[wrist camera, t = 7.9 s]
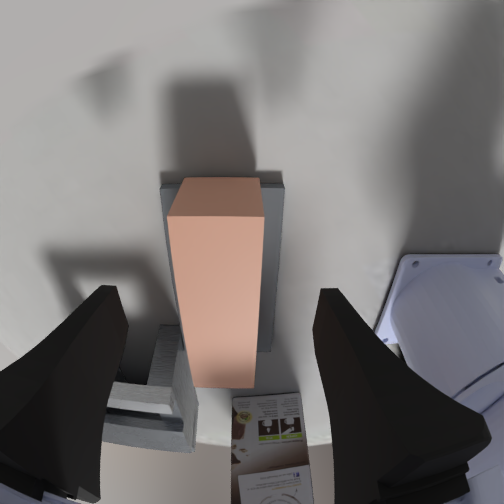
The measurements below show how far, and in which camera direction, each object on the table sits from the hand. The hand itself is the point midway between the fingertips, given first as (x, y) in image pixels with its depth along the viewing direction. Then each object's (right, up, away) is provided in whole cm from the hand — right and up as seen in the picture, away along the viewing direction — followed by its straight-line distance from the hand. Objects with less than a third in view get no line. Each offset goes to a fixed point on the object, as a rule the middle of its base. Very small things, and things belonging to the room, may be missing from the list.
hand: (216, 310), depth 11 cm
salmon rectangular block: (0, +1, +7) cm, 7 cm away
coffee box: (+3, -14, +18) cm, 23 cm away
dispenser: (-7, -7, +12) cm, 16 cm away
